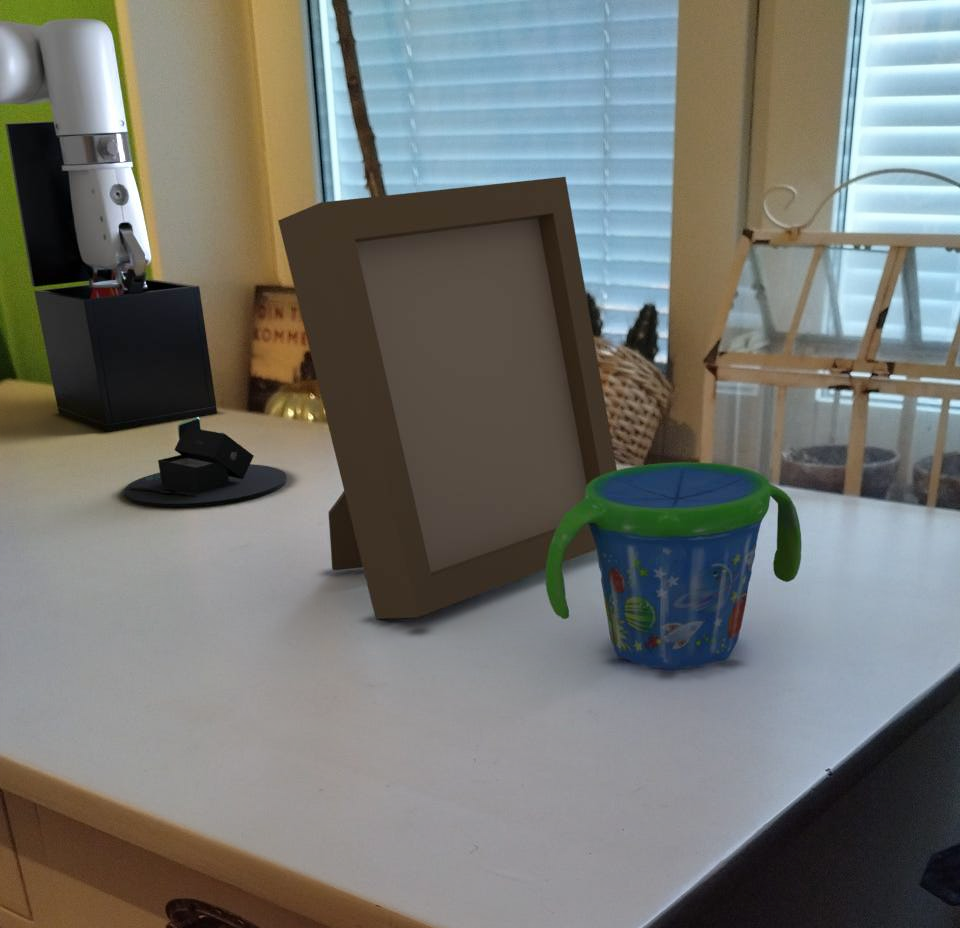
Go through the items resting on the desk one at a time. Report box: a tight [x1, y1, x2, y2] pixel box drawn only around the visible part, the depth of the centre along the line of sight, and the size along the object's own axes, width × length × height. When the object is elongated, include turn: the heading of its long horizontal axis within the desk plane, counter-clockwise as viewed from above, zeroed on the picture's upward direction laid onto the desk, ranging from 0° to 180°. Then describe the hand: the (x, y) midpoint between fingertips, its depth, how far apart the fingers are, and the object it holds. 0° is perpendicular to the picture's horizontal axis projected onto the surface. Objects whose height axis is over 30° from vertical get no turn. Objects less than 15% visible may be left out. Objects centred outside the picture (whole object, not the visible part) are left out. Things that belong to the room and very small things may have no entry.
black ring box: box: [123, 416, 288, 508], centre depth 121 cm, size 15×15×6 cm
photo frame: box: [277, 176, 618, 620], centre depth 90 cm, size 15×22×25 cm
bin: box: [33, 278, 218, 433], centre depth 153 cm, size 16×14×14 cm
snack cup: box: [545, 461, 802, 671], centre depth 77 cm, size 16×10×10 cm
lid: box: [4, 120, 133, 288], centre depth 152 cm, size 16×14×6 cm
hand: (124, 327), depth 151 cm, fingers closed on soda can, 7 cm apart
